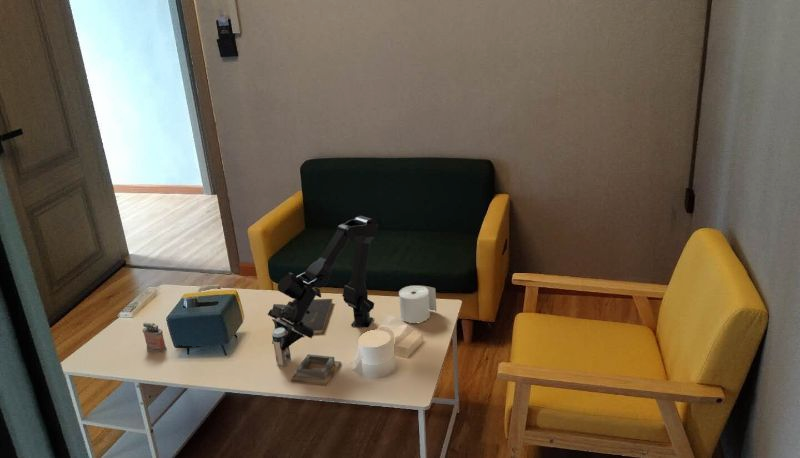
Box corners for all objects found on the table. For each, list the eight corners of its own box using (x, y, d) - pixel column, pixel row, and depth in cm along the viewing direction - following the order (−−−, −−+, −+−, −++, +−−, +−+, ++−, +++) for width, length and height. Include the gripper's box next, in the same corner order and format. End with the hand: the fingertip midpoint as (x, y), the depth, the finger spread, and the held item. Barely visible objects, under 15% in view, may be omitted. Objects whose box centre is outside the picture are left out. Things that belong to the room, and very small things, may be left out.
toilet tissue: (394, 318, 224) (392, 294, 221) (415, 305, 232) (413, 281, 229) (417, 327, 217) (415, 301, 214) (438, 313, 226) (436, 288, 222)
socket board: (306, 360, 202) (305, 351, 201) (341, 364, 199) (340, 354, 197) (290, 381, 191) (289, 372, 190) (326, 386, 188) (325, 376, 187)
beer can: (288, 367, 199) (283, 334, 195) (274, 366, 200) (269, 334, 196) (293, 358, 204) (288, 327, 199) (280, 358, 205) (274, 326, 200)
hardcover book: (333, 304, 239) (332, 298, 239) (323, 335, 218) (322, 329, 217) (292, 305, 241) (291, 300, 240) (278, 336, 219) (277, 330, 218)
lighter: (169, 348, 215) (163, 323, 212) (161, 353, 213) (155, 327, 209) (151, 344, 219) (145, 319, 215) (144, 349, 216) (138, 324, 212)
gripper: (268, 286, 202) (244, 329, 199) (301, 303, 190) (276, 349, 187) (291, 298, 210) (268, 340, 207) (325, 315, 197) (301, 360, 194)
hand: (277, 346), depth 199 cm, fingers closed on beer can, 5 cm apart
